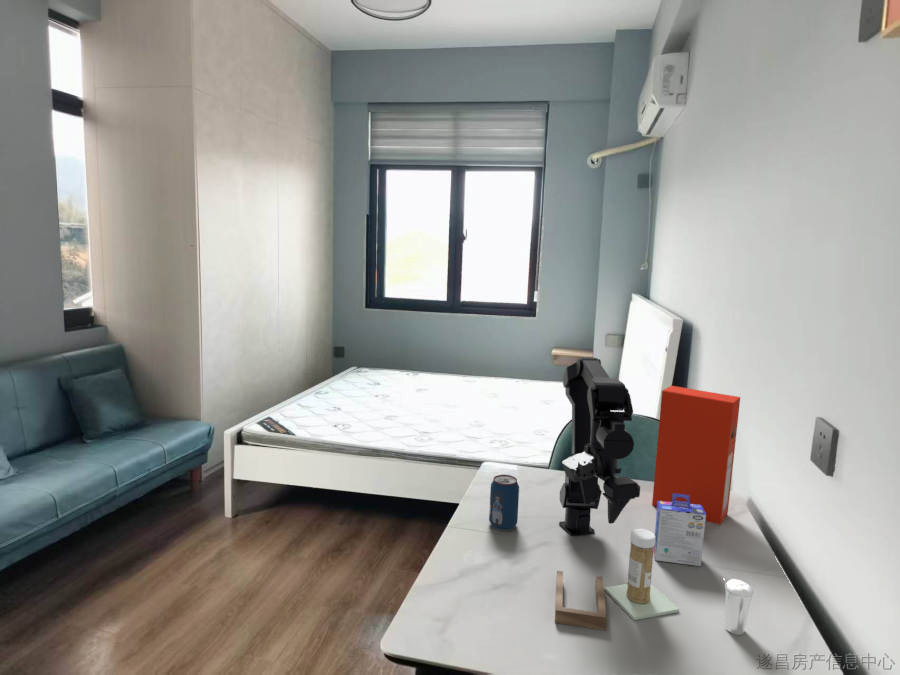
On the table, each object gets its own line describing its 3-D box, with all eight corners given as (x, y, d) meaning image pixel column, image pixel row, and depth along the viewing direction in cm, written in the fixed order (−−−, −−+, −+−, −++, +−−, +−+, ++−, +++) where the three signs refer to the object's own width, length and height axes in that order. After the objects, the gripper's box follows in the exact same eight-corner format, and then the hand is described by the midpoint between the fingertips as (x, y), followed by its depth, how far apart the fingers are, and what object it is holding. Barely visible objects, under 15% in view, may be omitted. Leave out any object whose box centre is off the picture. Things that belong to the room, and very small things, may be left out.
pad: (604, 590, 119) (604, 587, 119) (646, 583, 122) (646, 580, 122) (634, 620, 110) (634, 617, 109) (678, 611, 113) (679, 608, 113)
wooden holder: (556, 581, 121) (557, 570, 121) (601, 588, 120) (602, 576, 119) (554, 622, 108) (555, 610, 108) (605, 630, 106) (606, 617, 106)
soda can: (515, 519, 149) (518, 474, 147) (518, 532, 142) (520, 485, 140) (488, 518, 149) (490, 473, 147) (489, 531, 142) (491, 484, 140)
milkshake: (711, 621, 110) (717, 572, 108) (738, 621, 110) (744, 571, 109) (724, 637, 105) (730, 586, 104) (753, 637, 106) (759, 585, 104)
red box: (719, 525, 149) (733, 402, 144) (651, 505, 160) (662, 390, 155) (727, 515, 156) (740, 396, 151) (661, 496, 166) (671, 385, 161)
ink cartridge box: (697, 554, 134) (703, 494, 132) (702, 567, 129) (709, 504, 127) (651, 549, 136) (657, 489, 134) (655, 561, 131) (660, 499, 129)
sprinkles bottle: (654, 604, 114) (660, 538, 112) (631, 604, 113) (636, 539, 111) (643, 590, 118) (649, 527, 116) (621, 591, 118) (627, 527, 116)
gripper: (548, 430, 128) (543, 498, 130) (594, 460, 111) (588, 538, 113) (593, 427, 132) (588, 494, 134) (644, 456, 114) (638, 532, 116)
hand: (598, 513), depth 124 cm, fingers open, 9 cm apart
